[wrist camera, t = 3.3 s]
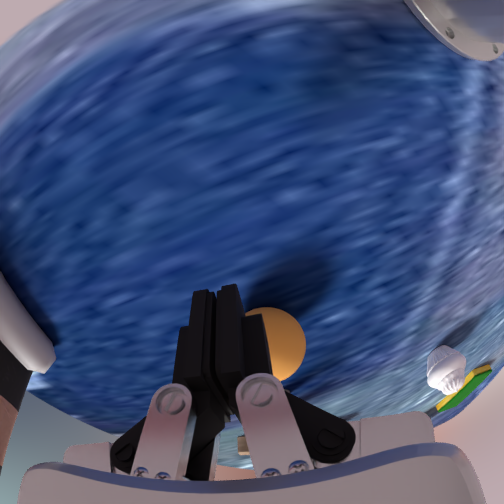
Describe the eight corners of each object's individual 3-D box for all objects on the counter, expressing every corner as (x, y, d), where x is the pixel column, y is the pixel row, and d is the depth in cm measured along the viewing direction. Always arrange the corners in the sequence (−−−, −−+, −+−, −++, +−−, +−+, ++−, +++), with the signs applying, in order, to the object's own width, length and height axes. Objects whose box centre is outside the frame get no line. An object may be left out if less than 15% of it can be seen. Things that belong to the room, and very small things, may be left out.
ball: (295, 284, 21) (311, 345, 16) (300, 333, 25) (313, 389, 19) (219, 298, 22) (216, 360, 17) (236, 344, 25) (237, 401, 20)
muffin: (410, 366, 31) (428, 407, 25) (439, 336, 28) (462, 378, 22) (434, 366, 32) (452, 402, 26) (461, 338, 29) (482, 375, 23)
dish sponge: (488, 362, 38) (493, 370, 36) (452, 398, 45) (456, 406, 43) (471, 367, 37) (476, 376, 35) (434, 405, 44) (437, 413, 42)
